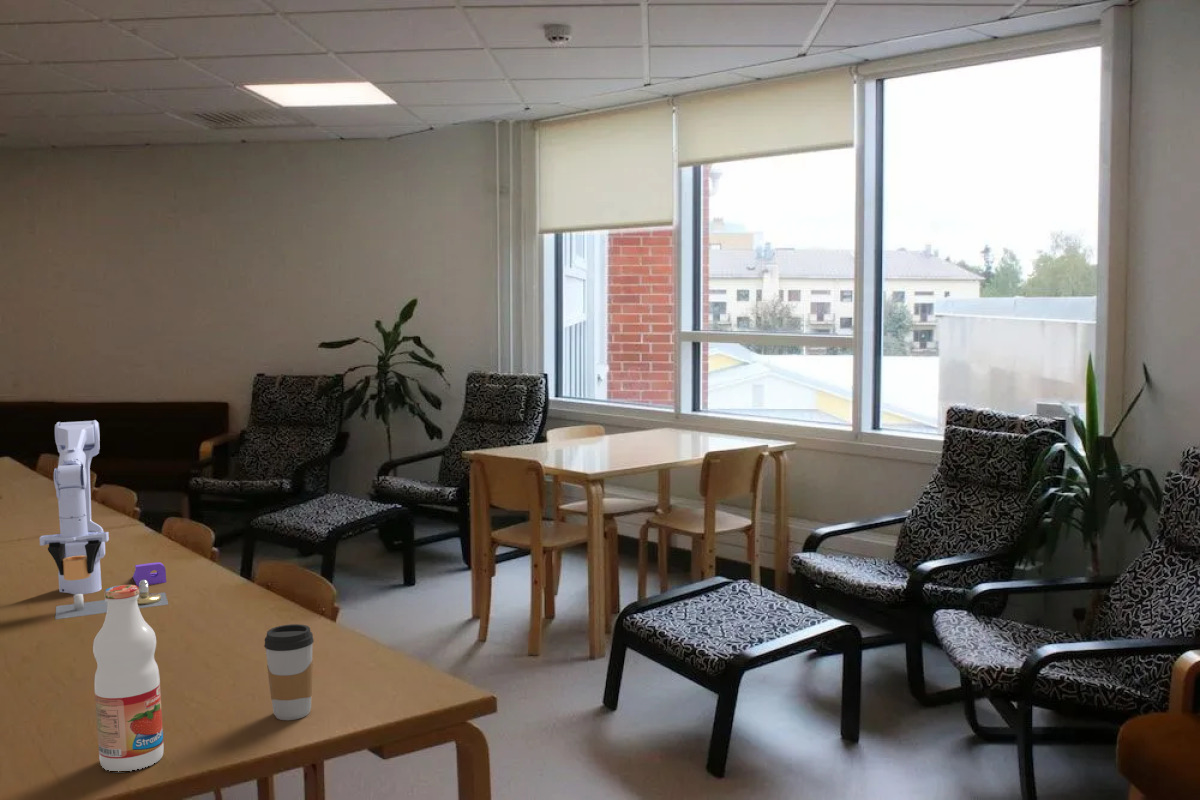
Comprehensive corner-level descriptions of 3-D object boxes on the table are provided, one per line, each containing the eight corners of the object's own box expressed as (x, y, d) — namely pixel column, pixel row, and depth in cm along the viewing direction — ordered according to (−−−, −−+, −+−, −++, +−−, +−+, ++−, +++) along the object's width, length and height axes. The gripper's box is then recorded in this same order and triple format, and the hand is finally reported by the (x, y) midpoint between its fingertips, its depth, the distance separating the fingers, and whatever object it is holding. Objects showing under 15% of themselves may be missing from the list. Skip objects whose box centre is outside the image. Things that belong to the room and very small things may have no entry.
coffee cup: (273, 706, 192) (269, 624, 190) (320, 703, 193) (317, 622, 191) (262, 724, 184) (258, 639, 182) (312, 721, 184) (308, 636, 183)
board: (55, 625, 243) (54, 604, 243) (56, 612, 254) (55, 591, 254) (168, 610, 254) (167, 589, 253) (165, 598, 264) (164, 578, 264)
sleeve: (58, 579, 248) (57, 560, 248) (77, 573, 253) (76, 554, 253) (77, 580, 247) (75, 561, 246) (95, 575, 252) (94, 556, 251)
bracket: (166, 589, 274) (165, 563, 274) (137, 593, 271) (136, 566, 270) (160, 579, 285) (159, 553, 284) (132, 582, 281) (131, 557, 281)
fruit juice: (113, 749, 174) (102, 581, 172) (172, 747, 175) (162, 579, 172) (89, 775, 165) (77, 597, 162) (152, 772, 165) (140, 595, 163)
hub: (121, 604, 255) (120, 582, 254) (143, 595, 261) (142, 575, 261) (145, 606, 252) (144, 584, 252) (167, 598, 259) (166, 577, 259)
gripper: (33, 521, 243) (37, 579, 245) (101, 517, 246) (105, 575, 247) (43, 515, 250) (47, 572, 252) (109, 511, 253) (113, 568, 254)
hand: (76, 573), depth 250 cm, fingers closed on sleeve, 5 cm apart
